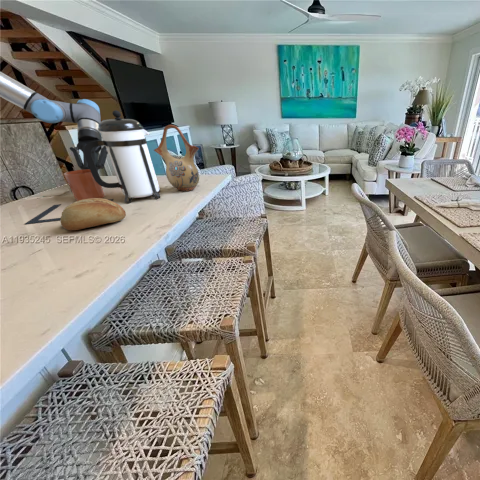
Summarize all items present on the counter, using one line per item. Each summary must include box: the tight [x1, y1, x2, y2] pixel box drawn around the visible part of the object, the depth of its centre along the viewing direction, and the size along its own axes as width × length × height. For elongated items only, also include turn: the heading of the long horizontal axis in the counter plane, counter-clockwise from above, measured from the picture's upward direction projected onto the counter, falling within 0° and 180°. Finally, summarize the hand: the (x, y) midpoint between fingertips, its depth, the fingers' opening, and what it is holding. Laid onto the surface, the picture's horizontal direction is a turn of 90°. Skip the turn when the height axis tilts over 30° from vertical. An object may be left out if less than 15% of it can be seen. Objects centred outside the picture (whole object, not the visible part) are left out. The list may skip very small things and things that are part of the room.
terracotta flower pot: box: [63, 169, 106, 202], centre depth 98 cm, size 9×9×10 cm
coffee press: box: [84, 109, 161, 204], centre depth 94 cm, size 17×16×30 cm
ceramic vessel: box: [153, 124, 200, 192], centre depth 104 cm, size 16×9×25 cm, turn 99°
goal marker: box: [24, 198, 114, 225], centre depth 89 cm, size 18×18×1 cm
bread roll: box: [59, 198, 127, 231], centre depth 76 cm, size 10×15×8 cm, turn 125°
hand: (91, 183), depth 104 cm, fingers closed
